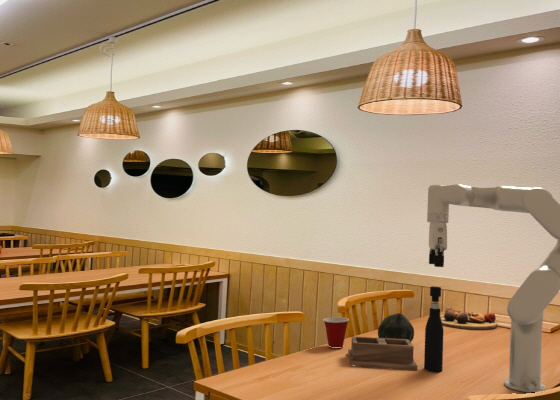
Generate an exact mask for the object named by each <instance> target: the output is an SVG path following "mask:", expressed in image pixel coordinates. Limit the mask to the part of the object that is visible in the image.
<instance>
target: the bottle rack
mask: <svg viewBox="0 0 560 400" xmlns="http://www.w3.org/2000/svg"><path fill="white" fill-rule="evenodd" d="M350 344H351V347H350V348H349V349H347V350H348V351H347V353H349V355H348V360H349V359H350V361H349V366H350V365H355V366H365V367H364V368H370V367H377V368H376V369H386V368H392V369H391V370H402V371H403V370H407V371H418V365H417V363H416V361H415V360H414V347H415V346H414V345H413V344H412V341H411V342H410V341H409V339H391V338H378V337H369V336H351V343H350Z"/></svg>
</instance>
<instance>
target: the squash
mask: <svg viewBox="0 0 560 400" xmlns="http://www.w3.org/2000/svg"><path fill="white" fill-rule="evenodd" d="M414 336H415V329H414V326H413V325H412V323H411V322H410V320H409V319H408V318H407V317H406V316H405V315H404V314H403V313H401V312H400V313H393V314H390V315H389V316H386V317H385V318H383V320H382V321H381V323H380V324H379V326H378V329H377V338H391V339H409V341H410V342H411V343H412V341H413V340H414V338H415V337H414Z"/></svg>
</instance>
